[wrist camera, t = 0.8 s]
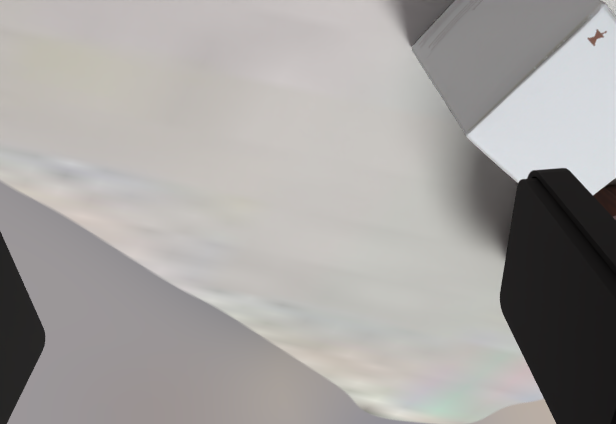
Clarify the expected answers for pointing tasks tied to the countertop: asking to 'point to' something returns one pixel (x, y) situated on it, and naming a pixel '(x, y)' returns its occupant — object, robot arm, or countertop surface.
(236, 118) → the countertop surface
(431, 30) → the supplement box
